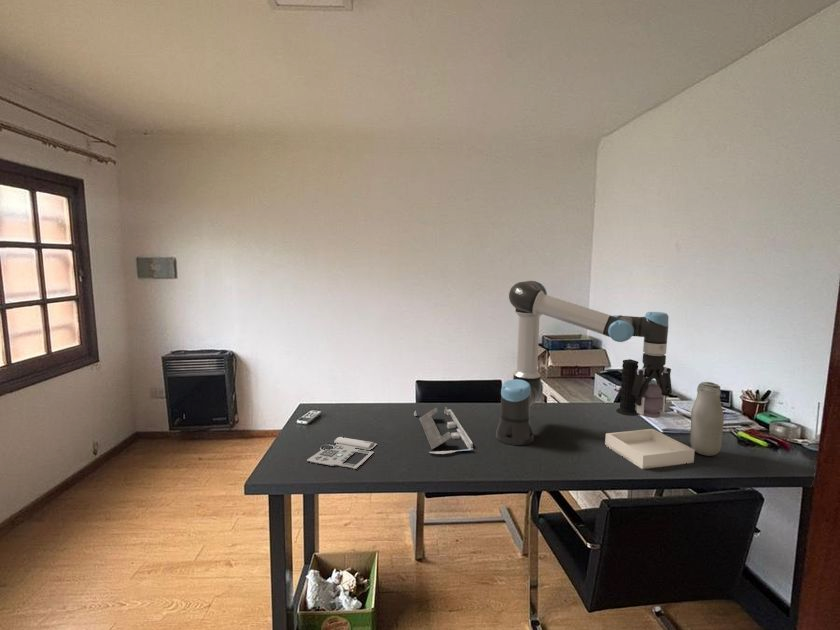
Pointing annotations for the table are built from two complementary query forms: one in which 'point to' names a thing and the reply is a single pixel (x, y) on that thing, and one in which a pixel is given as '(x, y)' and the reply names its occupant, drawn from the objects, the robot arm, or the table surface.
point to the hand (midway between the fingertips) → (650, 412)
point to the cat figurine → (652, 401)
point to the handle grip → (628, 388)
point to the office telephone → (343, 452)
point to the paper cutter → (437, 439)
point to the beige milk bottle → (707, 420)
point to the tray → (649, 448)
